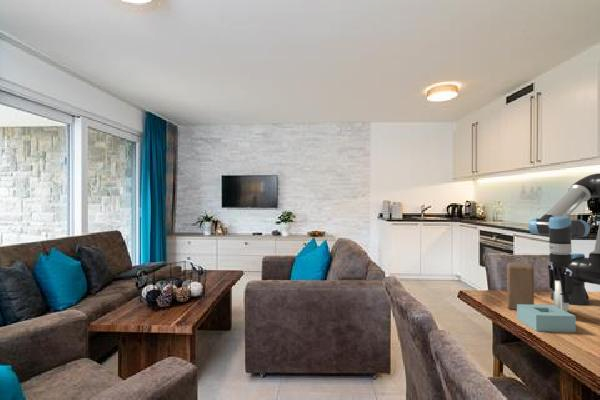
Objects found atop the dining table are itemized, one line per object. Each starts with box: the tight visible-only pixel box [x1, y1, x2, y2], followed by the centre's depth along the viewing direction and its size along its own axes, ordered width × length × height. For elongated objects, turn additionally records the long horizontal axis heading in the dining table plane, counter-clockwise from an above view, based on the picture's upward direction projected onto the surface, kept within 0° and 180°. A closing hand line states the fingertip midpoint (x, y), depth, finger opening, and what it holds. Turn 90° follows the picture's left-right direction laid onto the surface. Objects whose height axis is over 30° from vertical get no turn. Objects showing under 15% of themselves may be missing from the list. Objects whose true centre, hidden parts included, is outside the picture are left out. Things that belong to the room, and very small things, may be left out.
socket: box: [516, 304, 577, 333], centre depth 140 cm, size 14×14×6 cm
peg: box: [555, 280, 568, 312], centre depth 149 cm, size 4×4×14 cm
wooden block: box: [506, 262, 535, 311], centre depth 161 cm, size 10×10×20 cm
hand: (561, 308), depth 149 cm, fingers closed on peg, 4 cm apart
